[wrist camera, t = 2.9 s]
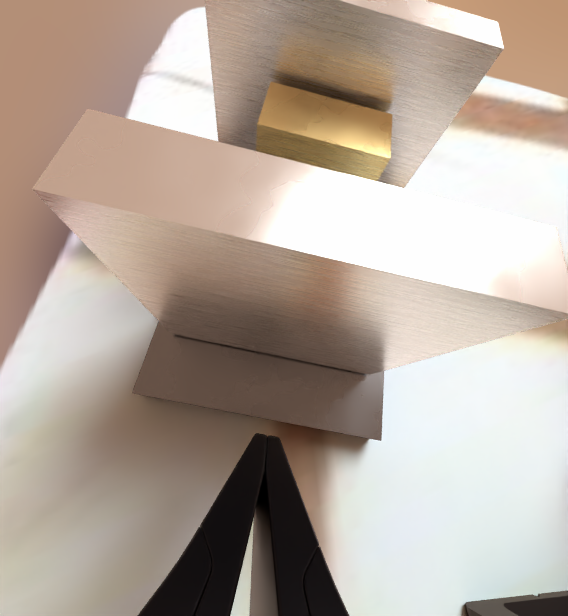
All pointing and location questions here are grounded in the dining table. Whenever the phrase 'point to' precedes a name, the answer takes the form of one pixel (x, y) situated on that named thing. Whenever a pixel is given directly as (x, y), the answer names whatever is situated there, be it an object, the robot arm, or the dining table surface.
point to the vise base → (261, 385)
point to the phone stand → (522, 605)
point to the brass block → (324, 132)
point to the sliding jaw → (298, 250)
